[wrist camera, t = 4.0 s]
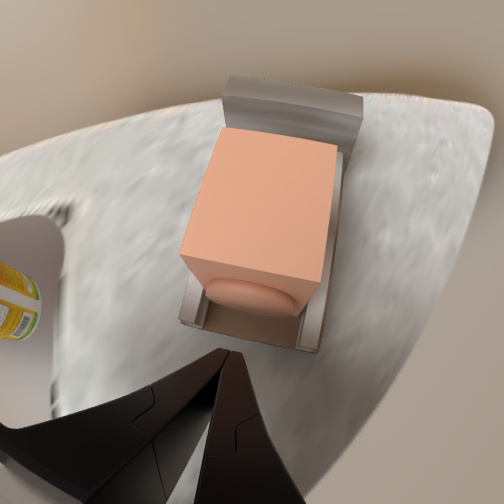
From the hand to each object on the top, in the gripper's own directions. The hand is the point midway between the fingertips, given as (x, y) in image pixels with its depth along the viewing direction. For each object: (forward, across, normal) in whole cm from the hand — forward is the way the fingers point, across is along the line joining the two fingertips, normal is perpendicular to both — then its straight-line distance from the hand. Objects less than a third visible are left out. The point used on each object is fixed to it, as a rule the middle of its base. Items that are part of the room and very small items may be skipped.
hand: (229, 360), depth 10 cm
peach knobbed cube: (+9, 0, -1) cm, 9 cm away
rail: (+13, 0, +1) cm, 13 cm away
